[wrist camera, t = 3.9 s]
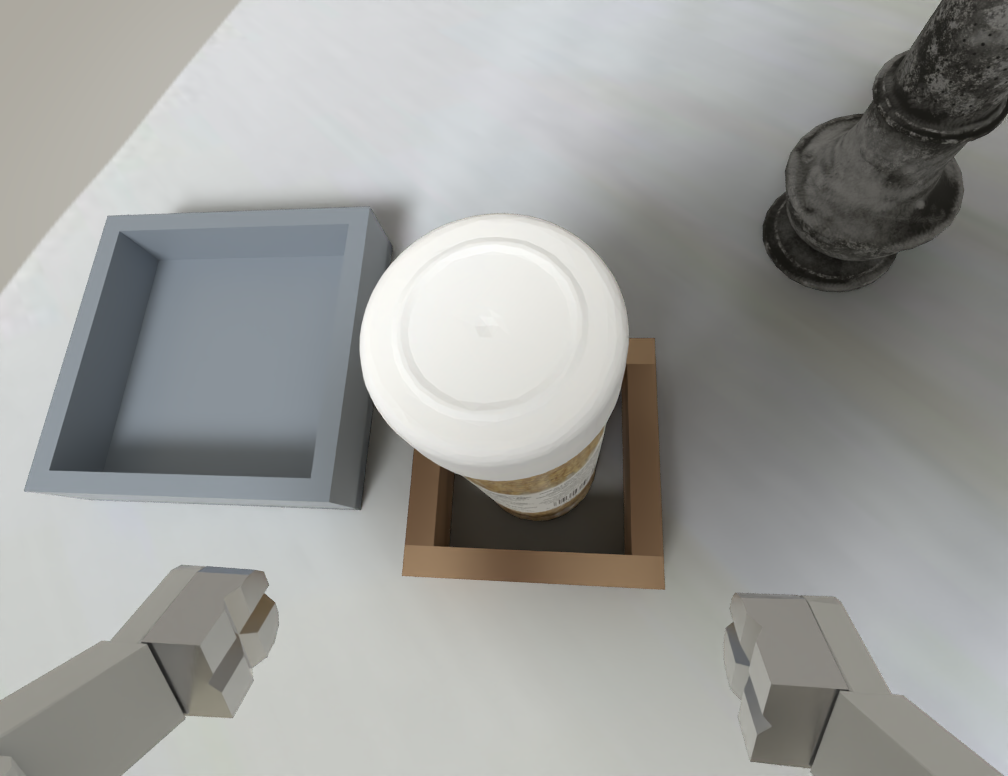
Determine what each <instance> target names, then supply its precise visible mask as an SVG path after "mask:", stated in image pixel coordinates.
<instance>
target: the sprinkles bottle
mask: <svg viewBox="0 0 1008 776" xmlns="http://www.w3.org/2000/svg"><path fill="white" fill-rule="evenodd" d="M628 345H629V324H628V317H627V311H626V306H625V303H624V299H623V296H622V293H621V291H620V288H619V286H618V283H617V282H616V280H615V278H614V276H613V274H612V273H611V271H610V270H609V268H608V267H607V265H606V264H605V263H604V261H603V260H602V259H601V258H600V256H599V255H598V254H597V253H596V252H595V251H594V250H593V249H592V248H591V247H590V246H588V245H587V244H586V243H585V242H584V241H582V240H581V239H580V238H578V237H577V236H575V235H574V234H572V233H571V232H569V231H567V230H566V229H564V228H562V227H560V226H558V225H556V224H553V223H551V222H548V221H545V220H543V219H538V218H535V217H531V216H525V215H518V214H507V213H495V214H484V215H477V216H472V217H468V218H464V219H460V220H457V221H454V222H451V223H448V224H445V225H443V226H441V227H439V228H436V229H434V230H432V231H431V232H429V233H428V234H426V235H424V236H423V237H421V238H420V239H418V240H416V241H415V242H414V243H413V244H412V245H410V246H409V247H408V248H407V249H405V250H404V251H403V252H402V253H401V254H400V255H399V256H398V257H397V258H396V259H395V260H394V261H393V262H392V263H391V265H390V266H389V267H388V268H387V270H386V271H385V272H384V274H383V275H382V277H381V278H380V280H379V281H378V283H377V285H376V287H375V288H374V290H373V292H372V294H371V296H370V299H369V301H368V304H367V307H366V310H365V313H364V317H363V321H362V325H361V332H360V360H361V367H362V372H363V378H364V381H365V385H366V388H367V390H368V392H369V394H370V397H371V398H372V400H373V402H374V404H375V406H376V408H377V409H378V411H379V412H380V414H381V415H382V417H383V418H384V419H385V421H386V422H387V424H388V425H389V426H390V427H391V428H392V429H393V430H394V431H395V432H396V433H397V434H398V435H399V436H400V437H402V438H403V439H404V440H405V441H406V442H407V443H408V444H410V445H411V446H412V447H413V448H415V449H416V450H417V451H419V452H420V453H421V454H422V455H424V456H425V457H427V458H428V459H430V460H431V461H433V462H434V463H436V464H438V465H439V466H441V467H443V468H445V469H448V470H450V471H452V472H454V473H457V474H459V475H462V476H463V477H465V478H466V479H467V480H469V481H470V482H471V483H473V484H474V485H475V486H477V487H478V488H479V489H480V490H482V491H483V492H484V493H485V494H487V495H488V496H489V497H490V498H492V499H493V500H494V501H495V502H496V503H497V504H498V505H499V506H500V507H501V508H502V509H504V510H505V511H506V512H508V513H510V514H512V515H514V516H516V517H518V518H521V519H528V520H534V521H542V520H550V519H553V518H557V517H559V516H562V515H564V514H566V513H568V512H569V511H570V510H571V509H573V508H574V507H576V506H577V505H578V503H579V502H580V501H581V500H583V498H584V497H585V496H586V494H587V493H588V491H589V489H590V486H591V484H592V482H593V479H594V476H595V466H596V463H597V460H598V456H599V452H600V448H601V444H602V440H603V437H604V432H605V427H606V422H607V421H608V419H609V417H610V415H611V413H612V411H613V409H614V407H615V404H616V402H617V399H618V397H619V393H620V389H621V385H622V381H623V376H624V372H625V367H626V360H627V353H628Z"/></svg>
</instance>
